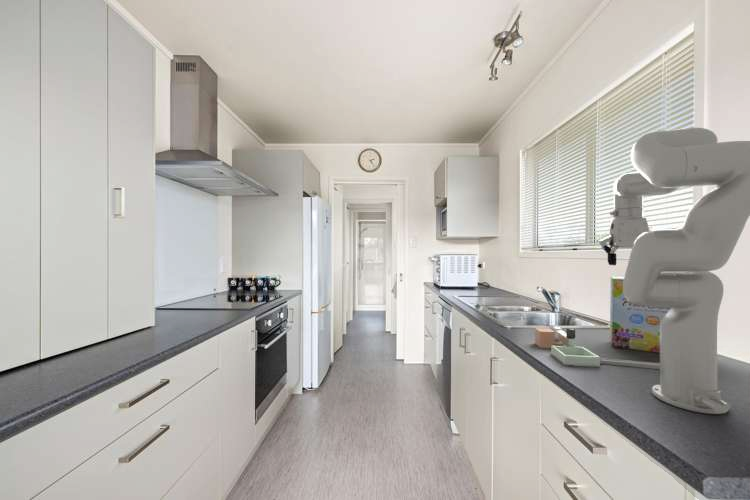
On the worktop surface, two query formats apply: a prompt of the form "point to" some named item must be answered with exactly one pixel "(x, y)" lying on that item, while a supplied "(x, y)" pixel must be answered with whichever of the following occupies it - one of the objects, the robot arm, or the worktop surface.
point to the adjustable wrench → (630, 363)
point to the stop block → (544, 337)
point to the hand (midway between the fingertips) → (628, 264)
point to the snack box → (633, 321)
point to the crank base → (558, 343)
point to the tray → (575, 356)
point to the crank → (564, 335)
